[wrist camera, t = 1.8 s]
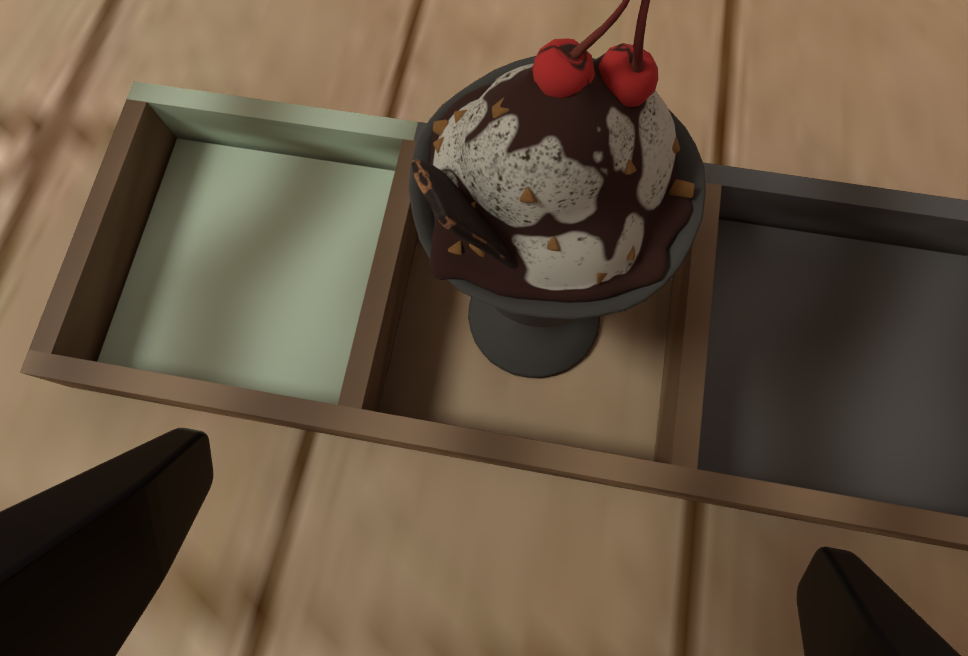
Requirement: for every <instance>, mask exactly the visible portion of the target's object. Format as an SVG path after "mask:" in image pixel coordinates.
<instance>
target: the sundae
mask: <svg viewBox="0 0 968 656" xmlns="http://www.w3.org/2000/svg"><path fill="white" fill-rule="evenodd" d="M629 1H630V0H623V1H622V3H621V4H620V5H619V7H618V8H617V9H616V10H615V12H614V13H613V14H612V15H611V16H610V17H609V18H608V19H607V20H606V22H605V23H604V24H603V25H602V26H600V27H599V28H598V29H596V30H595V31H594V32H593V33H592V34H591V35H590V36H588V37H587V38H586V39H585V40H584V41H582V42H581V43H580V44H579V43H578V42H577V41H575V40H573V39H554V40H552V41H551V42H549V43H548V44H546V45H545V46H544V47H542V48H541V49H540V50H539V52H538V54H537V56H534V57H530V58H526V59H522V60H518V61H515V62H513V63H510V64H508V65H505V66H503V67H500V68H498V69H495V70H493V71H492V72H490V73H488V74H487V75H485V76H483V77H482V78H480V79H478V80H477V81H475V82H473V83H472V84H470V85H469V86H467V87H466V88H464V89H463V90H462V91H460V92H459V93H457V94H456V95H455V96H453V97H452V98H451V99H449V100H448V101H447V102H446V103H444V104H443V105H442V106H441V107H440V108H439V109H438V110H437V112H436V113H435V114H434V115H433V116H432V117H431V119H430V120H429V121H428V123H427V125H426V126H425V128H424V129H423V131H422V133H421V134H420V136H419V137H418V139H417V142H416V146H415V150H414V154H413V158H412V161H411V168H410V179H409V189H408V190H409V196H410V202H411V208H412V214H413V219H414V222H415V226H416V229H417V233H418V237H419V240H420V242H421V244H422V246H423V248H424V249H425V251H426V253H427V255H428V257H429V259H430V268H431V272H432V274H433V275H434V276H435V278H438V279H441V280H447V281H449V282H450V283H451V284H452V285H454V286H455V287H456V288H457V289H459V290H460V291H461V292H462V293H464V294H466V295H469V296H471V300H470V305H469V316H468V319H469V324H470V329H471V332H472V335H473V338H474V341H475V343H476V344H477V346H478V347H479V349H480V350H481V352H482V353H483V354H484V355H485V356H486V357H487V358H488V360H489V361H490V362H491V363H493V364H495V365H496V366H498V367H499V368H501V369H503V370H505V371H507V372H509V373H511V374H513V375H517V376H523V377H532V378H543V377H547V376H552V375H556V374H559V373H561V372H564V371H567V370H568V369H569V368H571V367H572V366H574V365H575V364H577V363H578V362H579V361H580V360H581V359H582V358H583V357H584V356H586V354H587V353H588V351H589V350H590V348H591V346H592V345H593V343H594V341H595V338H596V336H597V334H598V329H599V322H600V316H603V315H607V314H612V313H616V312H621V311H625V310H627V309H629V308H631V307H633V306H635V305H637V304H639V303H641V302H643V301H645V300H647V299H648V298H649V297H651V296H652V295H653V294H654V293H656V292H657V291H658V290H659V289H661V288H662V287H663V286H664V285H665V284H666V283H667V282H668V281H669V279H670V278H671V277H672V276H673V275H674V274H675V273H676V271H677V270H678V269H679V268H680V266H681V265H682V263H683V261H684V259H685V257H686V256H687V254H688V252H689V250H690V248H691V247H692V244H693V242H694V240H695V237H696V235H697V232H698V230H699V227H700V225H701V222H702V220H703V213H704V204H705V196H706V185H705V167H704V164H703V162H702V159H701V157H700V154H699V152H698V149H697V146H696V144H695V142H694V141H693V139H692V137H691V136H690V134H689V132H688V131H687V129H686V127H685V126H684V125H683V124H682V123H681V122H680V121H679V120H678V119H677V117H676V116H675V115H674V114H673V113H672V112H671V111H670V110H669V109H668V108H667V106H666V104H665V103H664V101H663V100H662V98H661V97H660V96H659V94H658V93H657V92H656V90H655V89H656V85H657V82H658V67H657V65H656V63H655V61H654V59H653V57H652V56H651V54H650V53H649V52H647V51H645V50H644V49H643V43H644V34H645V26H646V19H647V13H648V8H649V3H650V0H642V1H641V6H640V10H639V14H638V19H637V25H636V31H635V37H634V44H633V45H630V44H625V43H622V44H620V45H617V46H614V47H611V48H609V50H608V51H607V52H606V53H605V54H603V55H602V56H600V57H599V58H597V59H594V58H592V55H591V54H590V53H589V52H587V51H586V50H587V49H588V48H590V47H591V46H592V45H593V44H594V43H595V42H596V41H597V40H598V39H599V38H600V37H601V36H602V35H604V33H605V32H606V31H607V30H608V29H609V28H610V27H611V26H612V25H613V24H614V23H615V22H616V21H617V19H618V18H619V17H620V15H621V14H622V12H623V11H624V10H625V8H626V7H627V5H628V3H629Z"/></svg>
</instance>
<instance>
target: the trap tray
mask: <svg viewBox="0 0 968 656" xmlns="http://www.w3.org/2000/svg"><path fill="white" fill-rule="evenodd" d="M426 125H427V123H422V122H415V121H408V120H401V119H394V118H387V117H380V116H373V115H366V114H359V113H352V112H345V111H338V110H331V109H324V108H317V107H310V106H303V105H296V104H289V103H282V102H275V101H268V100H261V99H254V98H247V97H240V96H233V95H226V94H219V93H212V92H205V91H198V90H191V89H184V88H177V87H170V86H163V85H156V84H149V83H142V82H135V81H134V82H133V84H132V87H131V89H130V92H129V94H128V97H127V100H126V102H125V105H124V107H123V110H122V112H121V115H120V117H119V120H118V123H117V125H116V128H115V130H114V133H113V135H112V138H111V141H110V143H109V146H108V148H107V151H106V153H105V156H104V158H103V161H102V164H101V166H100V169H99V171H98V174H97V176H96V179H95V181H94V184H93V187H92V189H91V192H90V194H89V197H88V199H87V202H86V205H85V207H84V210H83V212H82V215H81V217H80V220H79V222H78V225H77V228H76V230H75V233H74V235H73V238H72V240H71V243H70V246H69V248H68V251H67V253H66V256H65V258H64V261H63V263H62V266H61V269H60V271H59V274H58V276H57V279H56V281H55V284H54V287H53V289H52V292H51V294H50V297H49V299H48V302H47V304H46V307H45V310H44V312H43V315H42V317H41V320H40V322H39V325H38V328H37V330H36V333H35V335H34V338H33V340H32V343H31V345H30V348H29V351H28V353H27V356H26V358H25V361H24V363H23V366H22V368H21V371H20V373H23V374H26V375H30V376H33V377H37V378H40V379H44V380H47V381H51V382H54V383H57V384H61V385H64V386H68V387H73V388H78V389H84V390H89V391H95V392H100V393H106V394H111V395H116V396H122V397H127V398H133V399H138V400H144V401H149V402H155V403H160V404H166V405H171V406H177V407H182V408H188V409H193V410H199V411H204V412H210V413H215V414H221V415H226V416H232V417H237V418H243V419H248V420H254V421H259V422H264V423H270V424H275V425H281V426H286V427H292V428H297V429H303V430H308V431H314V432H319V433H325V434H330V435H336V436H341V437H347V438H352V439H358V440H363V441H369V442H374V443H380V444H385V445H391V446H396V447H402V448H407V449H412V450H418V451H423V452H429V453H434V454H440V455H445V456H451V457H456V458H462V459H467V460H473V461H478V462H484V463H489V464H495V465H500V466H506V467H511V468H517V469H522V470H528V471H533V472H539V473H544V474H550V475H555V476H560V477H566V478H571V479H577V480H582V481H588V482H593V483H599V484H604V485H610V486H615V487H621V488H626V489H632V490H637V491H643V492H648V493H654V494H659V495H665V496H670V497H676V498H681V499H687V500H692V501H698V502H703V503H708V504H714V505H719V506H725V507H730V508H736V509H741V510H747V511H752V512H758V513H763V514H769V515H774V516H780V517H785V518H791V519H796V520H802V521H807V522H813V523H818V524H824V525H829V526H835V527H840V528H846V529H851V530H856V531H862V532H867V533H873V534H878V535H884V536H889V537H895V538H900V539H906V540H911V541H917V542H922V543H928V544H933V545H939V546H944V547H950V548H955V549H961V550H966V551H968V200H962V199H955V198H948V197H941V196H934V195H927V194H920V193H913V192H906V191H899V190H892V189H885V188H878V187H871V186H864V185H857V184H850V183H843V182H836V181H829V180H822V179H815V178H808V177H801V176H794V175H787V174H780V173H773V172H766V171H759V170H752V169H745V168H738V167H730V166H723V165H716V164H709V163H703V164H704V167H705V185H706V196H705V204H704V213H703V220H702V222H701V225H700V227H699V230H698V232H697V235H696V237H695V240H694V242H693V244H692V247H691V248H690V250H689V252H688V254H687V256H686V257H685V259H684V261H683V263H682V265H681V266H680V268H679V269H678V270H677V271H676V273H675V274H674V275H673V283H672V293H671V302H670V312H669V321H668V331H667V340H666V350H665V359H664V369H663V379H662V388H661V398H660V407H659V417H658V426H657V436H656V445H655V455H654V461H649V460H643V459H638V458H632V457H626V456H621V455H615V454H610V453H604V452H598V451H593V450H587V449H582V448H576V447H570V446H565V445H559V444H554V443H548V442H542V441H537V440H531V439H526V438H520V437H514V436H509V435H503V434H498V433H492V432H486V431H481V430H475V429H470V428H464V427H458V426H453V425H447V424H442V423H436V422H430V421H425V420H419V419H414V418H408V417H402V416H397V415H391V414H386V413H380V412H378V409H379V404H380V400H381V396H382V391H383V387H384V382H385V378H386V374H387V369H388V365H389V360H390V356H391V352H392V347H393V343H394V339H395V334H396V330H397V325H398V321H399V317H400V312H401V308H402V303H403V299H404V295H405V290H406V286H407V281H408V277H409V273H410V268H411V264H412V259H413V255H414V251H415V246H416V242H417V237H418V233H417V229H416V226H415V222H414V219H413V214H412V208H411V202H410V196H409V190H408V189H409V179H410V168H411V161H412V158H413V154H414V150H415V146H416V142H417V139H418V137H419V136H420V134H421V133H422V131H423V129H424V128H425V126H426Z"/></svg>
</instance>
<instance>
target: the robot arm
mask: <svg viewBox="0 0 968 656" xmlns="http://www.w3.org/2000/svg"><path fill="white" fill-rule="evenodd" d="M212 481H213V465H212V458H211V450H210V443H209V438H208V436H207V434H206V433H204V432H203V431H198V430H193V429H188V428H177V429H174V430H172V431H170V432H167V433H165V434H163V435H161V436H159V437H157V438H155V439H153V440H151V441H148V442H146V443H144V444H142V445H140V446H138V447H136V448H134V449H132V450H129V451H127V452H125V453H123V454H121V455H119V456H117V457H115V458H113V459H110V460H108V461H106V462H104V463H102V464H100V465H98V466H96V467H94V468H91V469H89V470H87V471H85V472H83V473H81V474H79V475H77V476H75V477H72V478H70V479H68V480H66V481H64V482H62V483H60V484H58V485H56V486H53V487H51V488H49V489H47V490H45V491H43V492H41V493H39V494H37V495H35V496H32V497H30V498H28V499H26V500H24V501H22V502H20V503H18V504H16V505H13V506H11V507H9V508H7V509H5V510H3V511H1V512H0V656H116V654H117V653H118V651H119V650H120V648H121V647H122V645H123V643H124V642H125V640H126V639H127V637H128V636H129V634H130V632H131V631H132V629H133V628H134V626H135V625H136V623H137V622H138V620H139V618H140V617H141V615H142V614H143V612H144V611H145V609H146V607H147V606H148V604H149V603H150V601H151V600H152V598H153V596H154V595H155V593H156V592H157V590H158V588H159V587H160V585H161V583H162V582H163V580H164V578H165V577H166V575H167V573H168V571H169V569H170V567H171V565H172V564H173V562H174V560H175V558H176V556H177V554H178V552H179V550H180V548H181V546H182V544H183V542H184V540H185V538H186V536H187V534H188V532H189V530H190V528H191V526H192V524H193V522H194V520H195V518H196V516H197V514H198V512H199V510H200V508H201V506H202V504H203V502H204V500H205V498H206V496H207V494H208V492H209V490H210V487H211V485H212ZM797 607H798V614H799V621H800V628H801V634H802V641H803V648H804V655H805V656H961V655H960V654H959V653H958V652H956V651H955V650H954V649H953V648H952V647H951V646H950V645H949V644H948V643H947V642H946V641H945V640H944V639H943V638H942V637H941V636H940V635H939V634H938V633H937V632H936V631H935V630H934V629H933V628H931V627H930V626H929V625H928V624H927V623H926V622H925V621H924V620H923V619H922V618H921V617H920V616H919V615H918V614H917V613H916V612H915V611H914V610H913V609H912V608H911V607H910V606H909V605H908V604H906V603H905V602H904V601H903V600H902V599H901V598H900V597H899V596H898V595H897V594H896V593H895V592H894V591H893V590H892V589H891V588H890V587H889V586H888V585H887V584H886V583H885V582H884V581H883V580H881V579H880V578H879V577H878V576H877V575H876V574H875V573H874V572H873V571H872V570H871V569H870V568H869V567H868V566H867V565H866V564H865V563H864V562H863V561H862V560H861V559H860V558H859V557H857V556H856V555H855V554H854V553H852V552H849V551H846V550H841V549H835V548H830V547H821V548H819V549H818V550H817V551H816V552H815V554H814V556H813V558H812V560H811V562H810V563H809V565H808V567H807V569H806V571H805V573H804V575H803V577H802V579H801V581H800V582H799V585H798V589H797Z"/></svg>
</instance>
